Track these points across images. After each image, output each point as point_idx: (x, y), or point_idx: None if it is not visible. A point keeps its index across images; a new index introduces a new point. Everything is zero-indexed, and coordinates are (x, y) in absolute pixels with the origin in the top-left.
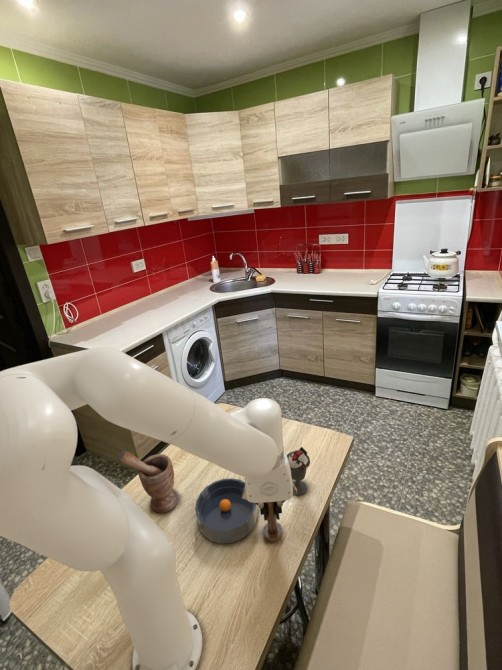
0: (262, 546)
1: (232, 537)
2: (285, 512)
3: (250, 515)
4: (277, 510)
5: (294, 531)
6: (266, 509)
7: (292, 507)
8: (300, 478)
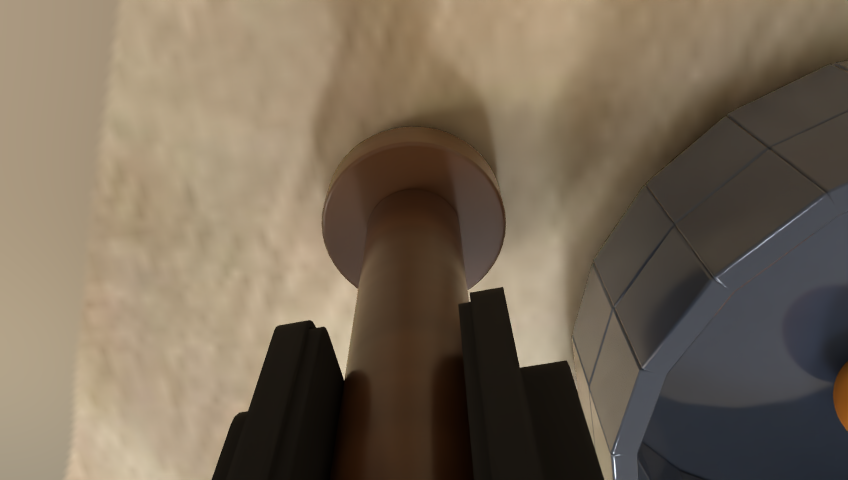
0: (503, 75)
1: None
2: None
3: (678, 337)
4: (253, 473)
5: (228, 246)
6: None
7: None
8: None
